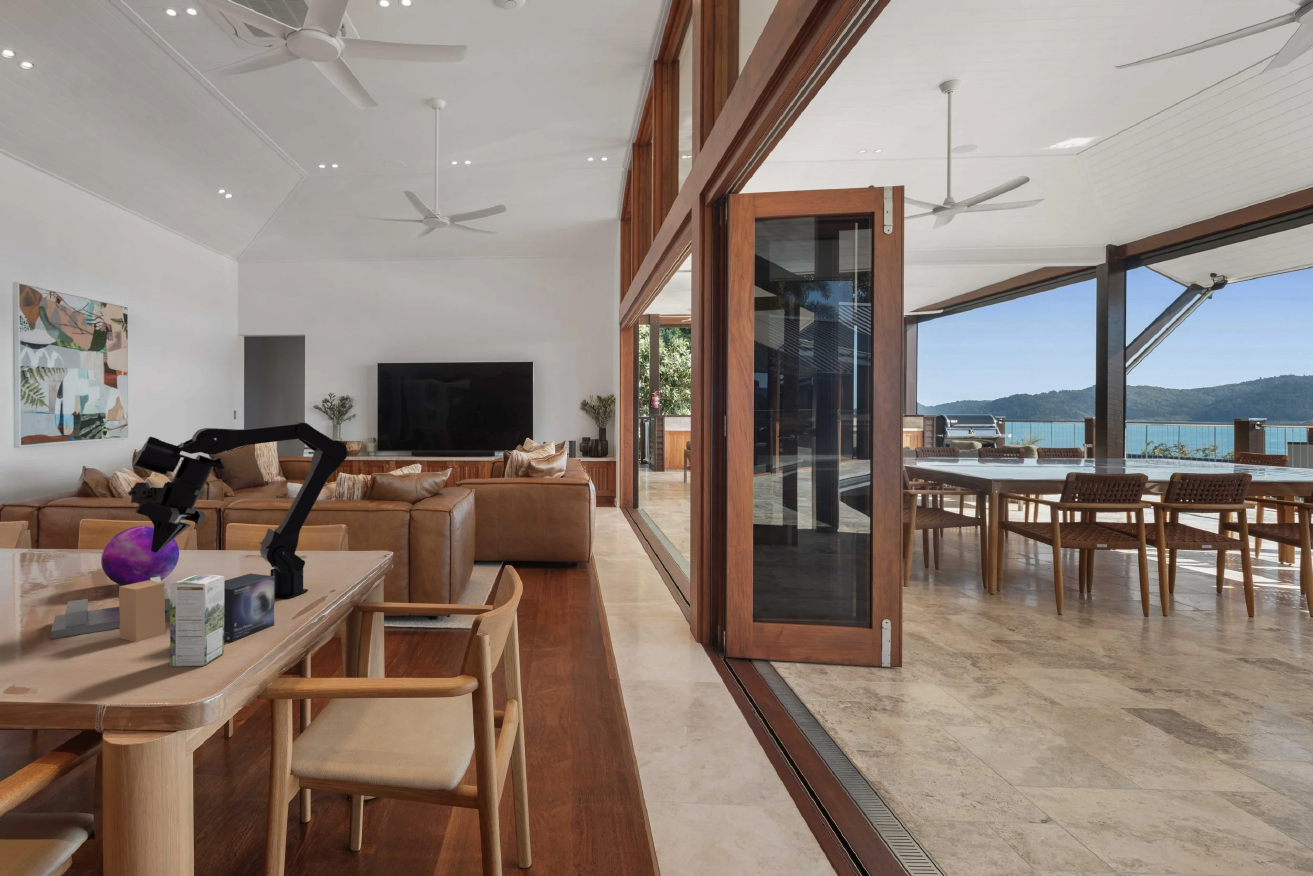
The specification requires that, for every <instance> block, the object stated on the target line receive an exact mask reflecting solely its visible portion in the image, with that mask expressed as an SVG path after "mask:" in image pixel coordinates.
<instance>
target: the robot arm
mask: <svg viewBox="0 0 1313 876" xmlns="http://www.w3.org/2000/svg"><path fill="white" fill-rule="evenodd" d="M292 440H299V441H300V442H301V443H303V444H304V445H305V446H306V447H308V448H309V449H310V450H312V451H313V454H312V457H311V461H310V468H309V473H308V474H307V476H306V477H305V479H304V481H303V483H302V485H301V487H300V489H299V491H298V492H297V495H296V496H295V498H294V500H292V501H293V502H292V504H291V506H290V507H289V508H288V511H287V512H286V514H285V516H284V519H283V520H282V522H281V524H279V526H278V527H276V528H275V529H274V530H273V529H271V528H270V527H269V528H267V530H266V533H265V536H264V538H263V539H262V540H261V542H259V545H260V546H261V547H260V550H259V551H260V552H259V553H260V555H261V558H262V559H263V560H264V561H266V563H269V564H270V566H271V568H272V569H270V574H269V576H274V598H279V599H280V598H281V599H292V598H294V597H297V596H298V595H301V594H302V595H303V594H304V593H306V592H308V591H309V589H308V588H304V568H305V564H306V561H305V560H303V559H302V558H301V557H299V556H298V555H297V554H296V551H297V548H298V544H299V538H300V532H301V530H302V528H303V526H304V525H305V522H306V520H307V518H308V517H309V514H310V513H311V511H312V509H313V508H314V505H315V503H316V501H317V499H318V498H319V496H320V494H321V492H322V490H323V488H324V487H325V484H326V483H327V481H328V479H329V478H330V477H331V476H332V475H333V474H334V473H335V472H336V471H337V470H338V469H339V468H340V466H342V464H343V463H344V461H345V460H346V459H347V457H348V455H349V451H348V448H347V446H346V444H345V443H344V442H342V441H340V440H334V439H331V438H330V437H329V436H327V435H326V434H325V433H322V432H320V431H319V430H317V429H316V428H314V427H313V426H312V425H310V424H309V423H308V422H303V421H302V422H295V423H290V424H289V423H288V424H281V425H271V426H270V425H269V426H260V427H252V428H251V427H250V428H242V429H241V428H240V429H239V428H238V429H236V428H219V427H217V428H213V427H203V428H200V429H198V430H197V431H196V432H194V433H193V435H192V437H191V438H190V439H188V440H186V441H184V442H181V443H180V444H178V445H175V444H172V443H169V442H166V441H162V440H161V439H159V438H157V437H154V436H153V437H152V436H149V437H148V438H147V439H146V442H145V443H144V445H143V446H142V448H141V449H139V450H138V452H137V454H136V456H135V459H134V460H133V465H132V466H133V467H134V468H139V469H143V470H146V471H149V472H153V473H156V474H160V475H163V476H165V475H166V474H167V473H168V472H169V473H173V472H174V471H175V470H176V469H177V470H176V472H175V475H174V476H173V479H172V480H171V481H167V482H165V483H164V484H163V486H162V487H153V486H152V487H151V485H150V484H149V483H148V482H143V481H142V482H140V481H139V482H135V483H134V485H133V486H132V487H131V488H130V490H129V491H128V493H127V494H128V495H129V496H131V499H130V503H131V504H135V503H136V504H138V506H137V508H136V510H135V514H138V515H139V514H140V515H143V516H145V517H147V518H148V519H149V520H150V521H151V523H152V525H153V527H154V532H153V539H152V547H151V551H152V552H159V551H160V550H161V549H162V548H164V547H165V546H166V545H167V544H168V543H169V542H171V541H172V540H173V539H176V537H178V536H180V535H181V533H184V531H186V530H187V529H188V528H190V527H192V526H191V524H189V523H187V522H186V521H190V522H193V523H195V524H197V525H203V523H204V521H205V519H206V514H205V512H204V511H203V510H199V509H196V508H194V507H195V506H196V504H197V501H198V499H199V498H200V497H203V496H204V495H205V492H206V491H203V489H204V487H205V485H206V483H207V481H208V479H209V477H210V475H211V473H212V470H214V469H218V470H221V471H224V470H225V466H224V463H222V459H221V457H215V458H210V457H207V456H204V455H201V454H198V453H202V454H205V455H208V456H209V455H210V456H211V455H218V454H221V453H225V452H228V451H232V450H235V449H238V448H241V447H244V446H250V445H259V444H266V443H274V442H283V441H284V442H285V441H292ZM181 452H185V453H187V454H190V455H191V454H198V455H197V456H196V457H195V458H194V457H190V456H187V455H185V454H184V455H183V454H181ZM181 458H182V460H181ZM180 460H181V463H180ZM179 463H180V464H179ZM178 465H179V467H178V468H177V466H178ZM185 522H186V523H185Z"/></svg>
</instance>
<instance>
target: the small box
mask: <svg viewBox="0 0 1313 876" xmlns="http://www.w3.org/2000/svg"><path fill="white" fill-rule="evenodd" d="M273 626H275V597H274V576H270V575H268V574H266V575H265V574H259V573H258V574H257V573H251V572H250V573H247V574H243V575H239V576H237V577H233V578H229V579H226V580H225V579H224V642H228V643H233V642H235V641H238V640H240V639H242V638H246V637H248V636H250V635H252V634H253V635H254V634H256V633H257V632H260V631H263V630H265V629H268V628H270V627H273Z"/></svg>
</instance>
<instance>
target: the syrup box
mask: <svg viewBox="0 0 1313 876" xmlns="http://www.w3.org/2000/svg"><path fill="white" fill-rule="evenodd" d="M224 581H225V576H223V575H215V574H197V575H191V576H189V577H186V578H183V579H180V580H178V581H175V582H173V583H171V584H170V596H169V599H170V620H169V621H170V624H169V625H170V626H169V627H170V628H169V634H170V635H169V637H170V638H169V639H170V640H169V663H170V664H169V665H170V667H197V666H198V667H201V666H202V667H203V666H206V665H208V664H210V663H211V662H213V661H215V660H216V659H218V658H219V657H221V656H222V655H224V653H225V641H224Z"/></svg>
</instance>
